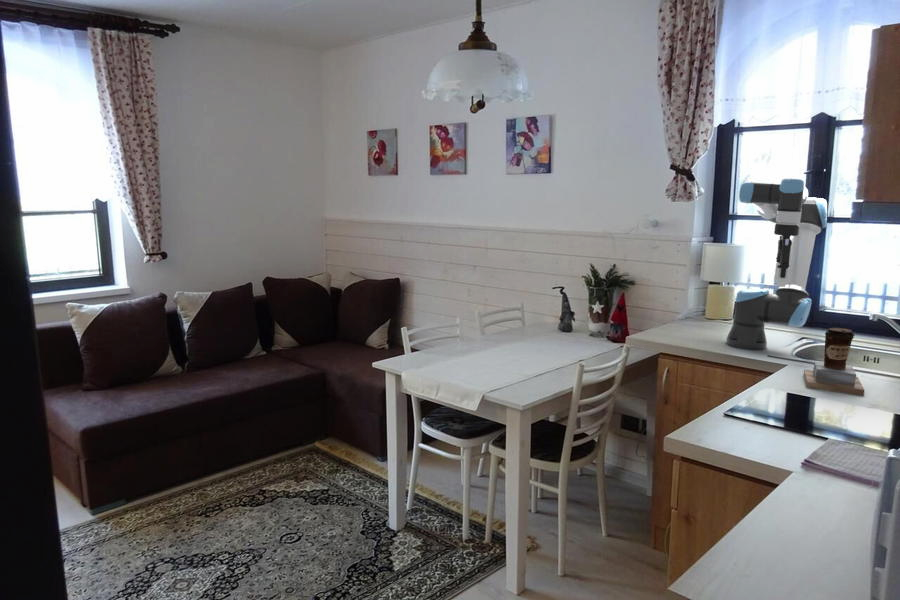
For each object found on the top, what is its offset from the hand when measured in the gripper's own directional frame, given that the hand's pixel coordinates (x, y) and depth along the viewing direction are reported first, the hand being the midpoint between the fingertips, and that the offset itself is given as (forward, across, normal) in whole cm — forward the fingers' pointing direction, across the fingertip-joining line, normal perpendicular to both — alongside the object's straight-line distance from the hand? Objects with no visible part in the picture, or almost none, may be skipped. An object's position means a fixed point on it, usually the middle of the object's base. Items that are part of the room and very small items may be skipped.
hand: (779, 283), depth 229 cm
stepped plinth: (+30, +14, +18) cm, 38 cm away
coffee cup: (+24, +14, +18) cm, 34 cm away
